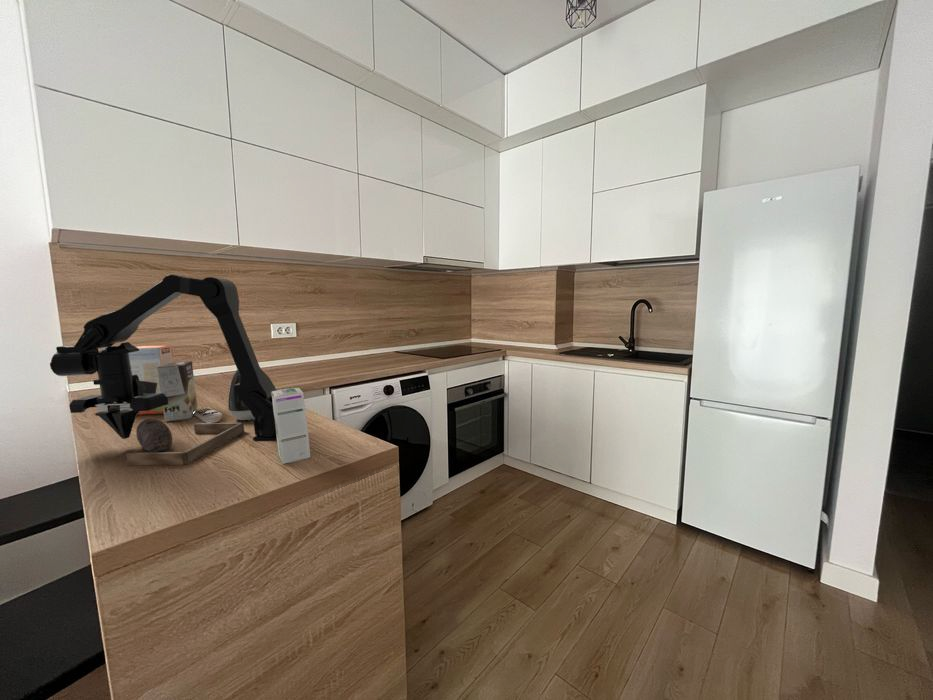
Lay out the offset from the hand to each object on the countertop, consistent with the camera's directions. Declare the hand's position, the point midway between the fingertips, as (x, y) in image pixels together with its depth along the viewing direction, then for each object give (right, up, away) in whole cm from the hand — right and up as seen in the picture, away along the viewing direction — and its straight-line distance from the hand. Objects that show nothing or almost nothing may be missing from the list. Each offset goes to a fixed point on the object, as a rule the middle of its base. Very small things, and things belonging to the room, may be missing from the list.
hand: (125, 438), depth 89 cm
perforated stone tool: (+7, -2, 0) cm, 7 cm away
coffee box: (-5, +1, +25) cm, 25 cm away
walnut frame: (+16, -2, 0) cm, 16 cm away
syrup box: (+43, -2, -8) cm, 44 cm away
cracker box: (-19, +1, +30) cm, 36 cm away
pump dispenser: (+17, +1, +21) cm, 27 cm away
